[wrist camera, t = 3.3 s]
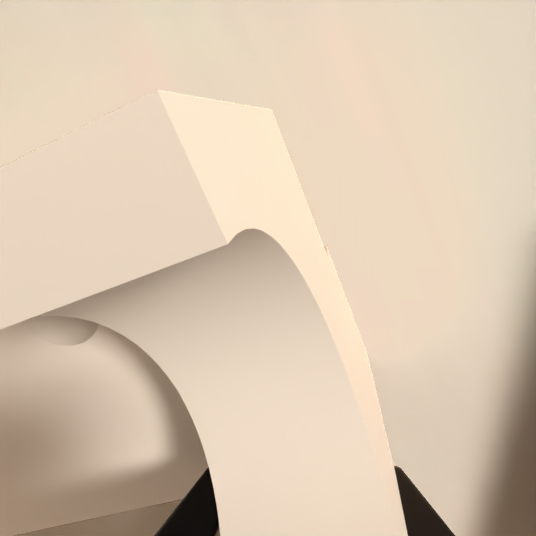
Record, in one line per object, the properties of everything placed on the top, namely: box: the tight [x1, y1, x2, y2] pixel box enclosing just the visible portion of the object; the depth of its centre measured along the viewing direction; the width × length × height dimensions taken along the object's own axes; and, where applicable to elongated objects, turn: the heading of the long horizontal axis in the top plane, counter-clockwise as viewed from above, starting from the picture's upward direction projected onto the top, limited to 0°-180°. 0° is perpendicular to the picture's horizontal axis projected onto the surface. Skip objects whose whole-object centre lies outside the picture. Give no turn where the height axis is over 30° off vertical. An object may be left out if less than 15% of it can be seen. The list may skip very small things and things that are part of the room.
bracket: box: [0, 90, 408, 536], centre depth 8 cm, size 13×7×8 cm, turn 113°
